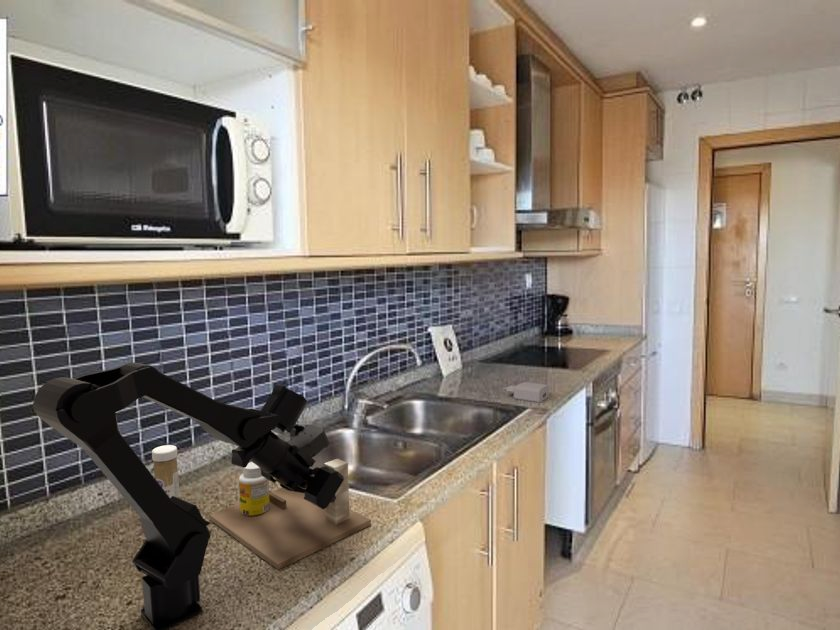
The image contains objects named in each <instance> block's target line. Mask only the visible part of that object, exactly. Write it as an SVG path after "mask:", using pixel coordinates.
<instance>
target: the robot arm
mask: <svg viewBox="0 0 840 630" xmlns="http://www.w3.org/2000/svg"><path fill="white" fill-rule="evenodd" d="M34 396H35V397H34V399H33V402H32V408H33V411H34V413H35V414H36V415H37V417H38V418H40V419H41V420H42V421H43V422H44V423H46V424H47V425H49V426H50V427H51V428H53V429H54V430H55V431H57V432H58V433H59V434H60V435H62V436H63V437H65V438H66V439H68V440H70V441H71V442H72V443H74V444H75V445H77V446H78V447H80V448H81V449H83V451H84V452H85V453H86V454H87V456H88V457H89V458H90V459H91V460H92V461H93V463H94V464H95V465H96V466H97V467H98V468H99V470H100V471H101V472H102V474H103V475H104V476H105V477H106V478H107V479H108V481H109V482H110V483H111V484H112V486H113V487H114V488H115V489H116V490H117V491H118V492H119V494H120V495H121V496H122V497H123V498H124V500H125V502H127V503H128V504H129V506H130V507H131V508H132V509H133V511H134V512H135V513H136V514H137V516H139V518H140V523H141V529H142V533H143V536H144V537H145V541H144V542H143V544H142V545H141V547H140V548H139V550H138V551H137V553H136V555H135V556H134V558H133V559H132V561H131V562H132V564H133V566H134V567H135V569H136V571H138V572H139V573H141V574H143V575H144V576H142V579H141V582H142V595H143V604H144V607H143V608H141V609H140V615H141V616H142V617H143V620H145V621H146V622H147V624H148V625H149V626H150V628H151V629H153V630H169V629H170V628H172V627H174V626H176V625H178V624H180V623H183V622H184V621H187V620H188V619H191V618H192V617H194V616H196V615H199V614H200V613H202V612H203V606H202V605H200V603H199V602H200V601H201V591H200V575H201V572H202V568H203V564H204V560H205V557H206V556H205V555H206V552H207V547H208V545H209V541H210V539H211V532H210V530H209V528H208V526H209V525H210V524H211V522H210V521H207V520H206V519H205V518H204V517H203V515H202V513H201V511H200V509H199V508H198V507H197V505H196V504H193V503H191V502H189V501H187V500H184V499H182V498H180V497H179V498H177V497H175V496H172V497H171V498H170V497H169V496H168V495H167V493H166V492H165V491H164V490H163V488H162V487H161V486H160V484H159V483H158V482H157V481H156V479H155V478H154V475H153V474H152V472H150V470H149V469H148V467H146V465H145V464H144V463H143V461H142V460H141V459H140V457H139V456H138V454H136V452H135V451H134V450H133V448H132V447H131V446H130V444H129V442H128V441H127V440H126V439H125V438H124V436H123V435H122V434H121V431H119V424H118V416H117V412H120V411H122V410H124V409H126V408H127V407H128V406H130V405H131V404H132V403H134V402H136V401H137V400H138V399H140V398H144V399H147V400H149V401H151V402H152V403H155V404H157V405H159V406H162V407H164V408H166V409H168V410H170V411H173V412H175V413H177V414H179V415H181V416H184V417H186V418H188V419H190V420H192V421H194V422H195V423H196V424H198V425H199V426H200V427H201V428H202V429H203V431H204V432H206V433H207V434H208V435H210V436H211V437H213V438H214V439H215V440H218V441H220V442H223V443H227V444H230V445H234V446H236V448H233V449H231V458H230V459H231V460H230V461H231V464H232V465H233V466H236V467H240V468H242V469H243V468H245V467H246V466H247V465H248V463H250V462H253V463H254V464H255V465H257V466H258V467H260V470H261V475H262V476H263V477H264V478H266V479H267V480H269V482H271V483H273V484H276V483H278V484H279V486H280V488H284V489H286V490H289V491H294V492H300V493H305V497H304V499H305V500H307V501H309V502H311V503H312V504H314V505H316V506H318V507H320V508H321V509H325V508H327V507H328V505H329V503H333V502H334V501H335V499H336V496H335V494H336V492H337V490H338V489H339V487H340V485H341V484H342V482H343V481H344V476H343V475H341V474H340V473H339V472H338V471H336V470H333V469H331V468H329V467H327V466H324V465H323V466H322V467H318V466H316V467H315V468H312V467H313V466H314V465H315V462H316V460H315V459H314V457H316V456H317V455H318V454H319V453H321V452H322V451H323V450H324V449H326V448H328V447H329V445H330V443H331V442H330V440H329V438H328V435H327V434H326V432H325V429H324V428H323V427H320V426H318V425H315V424H305V425H302V424H298V421H299V419H300V417H301V415H302V414H303V412H304V410H305V408H306V407H307V405H308V404H309V403H308V399H306V397H304V396H303V395H300V394H299V393H297V392H296V391H293V390H292V389H290V388H288V387H287V386H285V385H283V384H278V383H277V384H275V386H274V387H273V389H272V391H271V393H270V395H269V397H268V399H267V400H266V402H265V403H264V405H263V406H262V408H261V409H255V408H244V407H241V406H240V407H239V406H236V405H232V404H228V403H224V402H220V401H217V400H216V399H213V398H212V397H210V396H207V395H206V394H204V393H201V392H200V391H198V390H196V389H194V388H192V387H190V386H188V385H186V384H184V383H182V382H181V381H178V380H176V379H174V378H172V377H171V376H168V375H167V374H165V373H163V372H161V371H159V370H158V369H157V368H156V367H155V366H153V365H150V364H145V363H139V362H128V363H126V364H123V365H120V366H117V367H114V368H110V369H106V370H102V371H101V370H100V371H98V372H97V371H95V372H91V373H86V374H83V375H80V376H77V377H74V378H71V377H63V376H62V377H61V376H60V377H56V378H52V379H50V380H48V381H47V382H46V381H45V383H44V384H43V385H42V386H40V387H39V389H38V391H37V392H36V394H35V395H34ZM285 432H287V433H289V439H290V441H289V442H287V441H285V440H283V439H282V438H281V437H280V436H279V435H284V433H285ZM277 434H279V435H277Z"/></svg>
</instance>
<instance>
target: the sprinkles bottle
mask: <svg viewBox="0 0 840 630" xmlns="http://www.w3.org/2000/svg"><path fill="white" fill-rule="evenodd" d="M151 459H152V461H153V462H152V463H153V473H154V475H153V477H154V478H155V479H156V481H157V482H158V483H159V484H160V486H161V487H162V488H163V490H164V491H165V492H166V493H167V495H168V496H169V497H170V498H171V497H172V496H175V497H177V498H180V482H179V470H178V447H177V446H176V445H173V444H165V445H161V446H157V447H155V448H153V449H152V450H151Z"/></svg>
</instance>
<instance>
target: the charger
mask: <svg viewBox="0 0 840 630" xmlns="http://www.w3.org/2000/svg"><path fill="white" fill-rule="evenodd" d="M502 390H505V391H506V393H508V394H513V398H514V399H516V400H520V401H525V402H526V401H528V402H534V403H541V402H543V401H544V400H545V399H548V398H549V396H550V395H549V393H550V385H548V384H543V383H536V382H527V381H524V382H521V383H519V384H517V385H512V384H511V385H509V386H504V387H503V388H502Z"/></svg>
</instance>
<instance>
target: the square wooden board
mask: <svg viewBox="0 0 840 630" xmlns="http://www.w3.org/2000/svg"><path fill="white" fill-rule="evenodd" d="M324 466H327V467H329V468H331V469H333V470H336V471H338V472H339V473H340V474H341V475H343V476H344V481H343V482H342V484H341V485H340V487H339V489H338V490H337V492H336V494H335V496H336V499H335V501H334V502H333V503H329V505H328V507H327V508H325V509H321V508H320V507H318V506H316V505H314V504H312V503H311V502H309V501H307V500H305V499H304V497H305V493H300V492H294V491H289V490H286V489H284V488H283V487H280V488H277V489H275V490H272V491H270V490H269V510H268V512H266V513H265V514H262V515H259V516H255V517H247V516H243V515H242V514H241V513H240V502H239V503H236V504H234V505H231V506H228V507H225V508H222V509H220V510H218V511H214V512H211V513H209V514H208V517H209V520H210V521H211V522H212V523H213V524H215V525H216V526H218V527H219V528H220V529H222V530H223V531H225V532H226V533H227V534H229V535H230V536H231V537H233V538H234V539H235V540H237V541H238V542H240V543H241V544H242V545H243V546H245V547H246V548H248V549H249V550H250V551H252V552H253V553H255V555H257V556H258V557H259V558H261V559H262V560H264V561H265V562H266V563H268V564H270V566H272V567H274V569H276V570H281V569H283V568H285V567H287V566H289V565H291V564H293V563H295V562H297V561H300V560H301V559H303V558H306V557H307V556H310V555H311V554H314V553H316V552H319V551H320V550H322V549H324V548H326V547H328V546H330V545H332V544H334V543H337V542H338V541H340V540H342V539H344V538H346V537H348V536H351V535H353V534H355V533H357V532H359V531H361V530H363V529H365V528H367V527H370V526H372V519H371V518H368V517H366V516H365V515H362V514H361V513H358V512H356V511H355V510H352V509H351V508H350V496H349V495H350V490H349V489H350V488H349V486H350V485H349V462H348V461H347V462H346V461H344V460H341V459H340V458H335V459H332V460H329V461H327V462H324V463H323V467H324Z"/></svg>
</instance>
